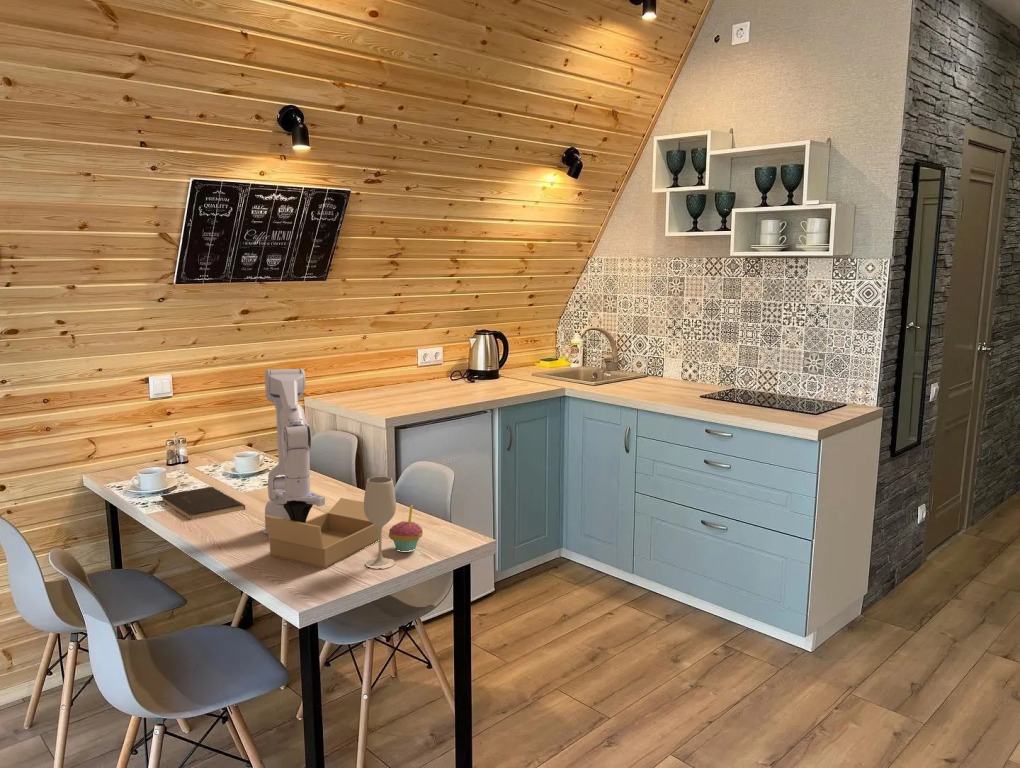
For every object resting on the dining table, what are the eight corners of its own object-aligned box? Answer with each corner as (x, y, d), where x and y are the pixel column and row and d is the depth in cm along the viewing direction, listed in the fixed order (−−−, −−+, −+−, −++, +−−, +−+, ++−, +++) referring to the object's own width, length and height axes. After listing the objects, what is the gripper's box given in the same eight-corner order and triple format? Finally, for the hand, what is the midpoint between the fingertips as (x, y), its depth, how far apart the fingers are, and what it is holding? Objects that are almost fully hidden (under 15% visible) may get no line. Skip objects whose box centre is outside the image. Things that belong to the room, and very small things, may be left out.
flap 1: (320, 526, 182) (318, 527, 181) (324, 548, 184) (322, 549, 183) (266, 515, 189) (264, 516, 189) (270, 536, 191) (268, 537, 191)
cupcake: (406, 541, 204) (407, 497, 202) (429, 549, 199) (430, 504, 197) (381, 550, 198) (381, 504, 196) (405, 558, 192) (405, 511, 190)
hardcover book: (190, 522, 217) (189, 514, 216) (161, 502, 233) (160, 495, 233) (245, 511, 227) (245, 503, 227) (213, 493, 244) (213, 486, 244)
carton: (270, 556, 192) (269, 536, 191) (328, 529, 211) (327, 512, 211) (325, 569, 185) (324, 548, 184) (379, 540, 204) (379, 522, 203)
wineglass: (373, 572, 183) (373, 485, 180) (358, 562, 189) (357, 478, 186) (401, 565, 188) (401, 480, 185) (386, 555, 194) (385, 473, 191)
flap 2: (340, 497, 215) (341, 499, 215) (328, 512, 211) (328, 513, 211) (390, 507, 208) (391, 508, 208) (379, 522, 203) (379, 523, 204)
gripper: (262, 475, 185) (263, 531, 187) (310, 483, 179) (311, 540, 180) (282, 469, 191) (284, 523, 193) (330, 476, 185) (331, 531, 187)
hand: (299, 531), depth 187 cm, fingers closed, pressing on flap 1
